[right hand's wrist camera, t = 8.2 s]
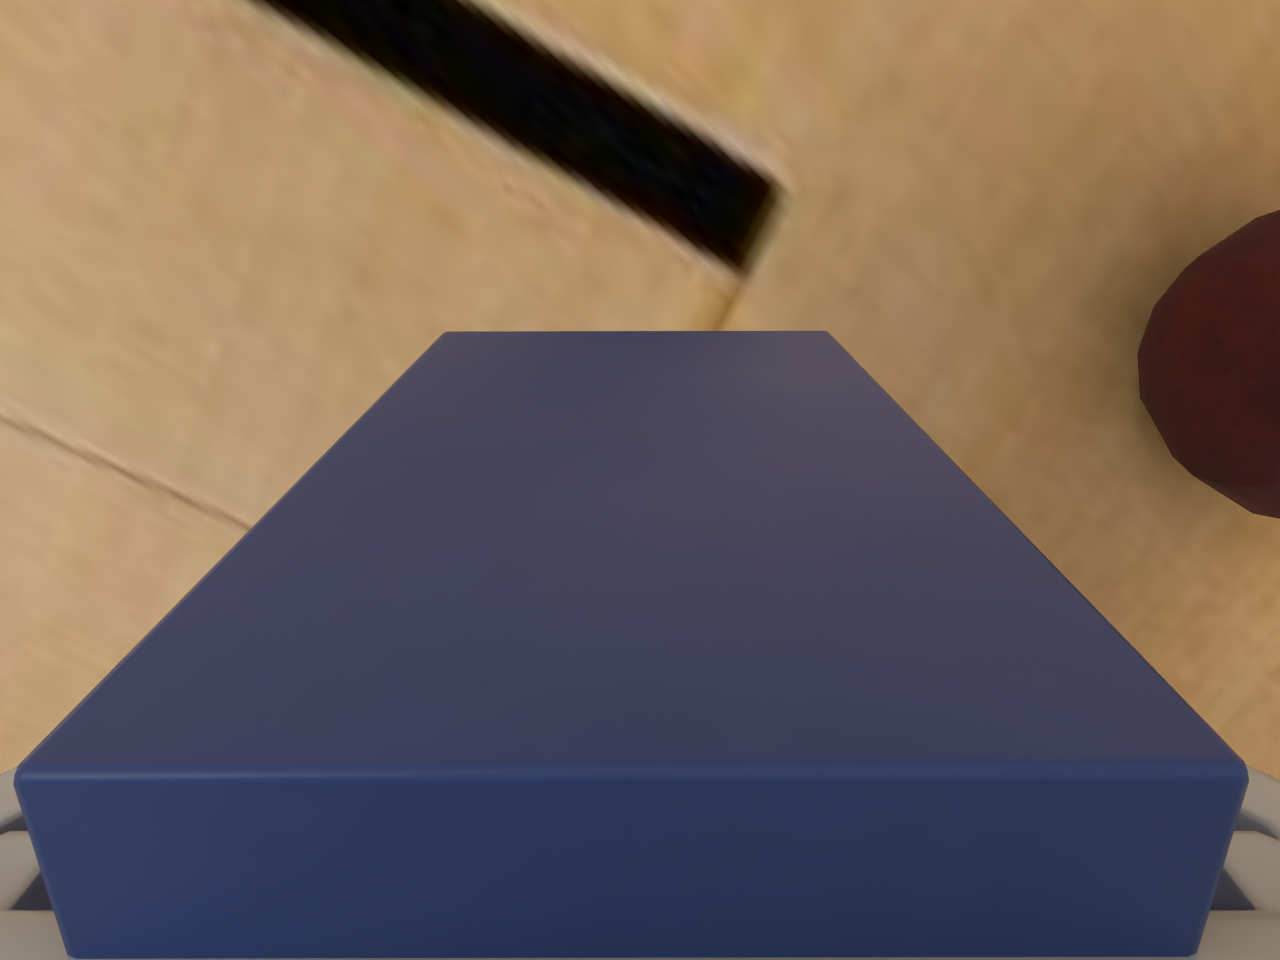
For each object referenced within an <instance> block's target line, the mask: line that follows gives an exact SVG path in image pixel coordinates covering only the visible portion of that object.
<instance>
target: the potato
mask: <svg viewBox="0 0 1280 960" xmlns="http://www.w3.org/2000/svg"><path fill="white" fill-rule="evenodd" d="M1138 369H1139V386H1140V398H1141V400H1142V402H1143V403H1144V405H1145V407H1146V409H1147V410H1148V412H1149V414H1150V416H1151V417H1152V419H1153V421H1154V423H1155V425H1156V427H1157V428H1158V430H1159V432H1160V434H1161V436H1162V438H1163V439H1164V441H1165V443H1166V445H1167V447H1168V449H1169V450H1170V452H1171V454H1172V456H1173V457H1174V458H1175V459H1176V460H1177V461H1178V462H1179V463H1180V464H1181V465H1182V466H1184V467H1185V468H1186V469H1187V470H1188V471H1189V472H1190V473H1191V474H1192V475H1193V476H1195V477H1196V478H1198V479H1199V480H1201V481H1202V482H1204V483H1206V484H1207V485H1209V486H1210V487H1212V488H1214V489H1215V490H1217V491H1218V492H1220V493H1221V494H1223V495H1225V496H1226V497H1228V498H1229V499H1231V500H1233V501H1234V502H1236V503H1237V504H1239V505H1240V506H1242V507H1244V508H1245V509H1247V510H1248V511H1250V512H1252V513H1254V514H1259V515H1264V516H1270V517H1275V518H1280V210H1278V211H1275V212H1272V213H1269V214H1266V215H1263V216H1260V217H1257V218H1255V219H1254V220H1252V221H1251V222H1249V223H1248V224H1246V225H1245V226H1244V227H1242V228H1241V229H1239V230H1238V231H1236V232H1235V233H1233V234H1232V235H1230V236H1229V237H1227V238H1226V239H1224V240H1223V241H1221V242H1220V243H1218V244H1217V245H1215V246H1214V247H1212V248H1211V249H1209V250H1208V251H1206V252H1205V253H1203V254H1202V255H1200V256H1199V257H1198V258H1196V259H1195V260H1194V261H1193V262H1192V263H1191V264H1189V265H1188V266H1187V267H1186V268H1185V269H1184V270H1183V271H1182V273H1181V274H1180V275H1179V276H1178V278H1177V279H1176V280H1175V281H1174V282H1173V284H1172V285H1171V286H1170V287H1169V289H1168V290H1167V291H1166V292H1165V294H1164V295H1163V296H1162V297H1161V298H1160V300H1159V301H1158V302H1157V303H1156V305H1155V306H1154V308H1153V311H1152V314H1151V316H1150V319H1149V322H1148V325H1147V327H1146V330H1145V333H1144V336H1143V338H1142V341H1141V344H1140V347H1139V351H1138Z"/></svg>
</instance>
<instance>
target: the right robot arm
mask: <svg viewBox="0 0 1280 960" xmlns="http://www.w3.org/2000/svg"><path fill="white" fill-rule="evenodd" d="M1245 765H1246V764H1245ZM1246 768H1247V770H1248V776H1249V783H1248V787H1247V790H1246V793H1245V796H1244V800H1243V803H1242V806H1241V810H1240V813H1239V816H1238V819H1237V823H1236V826H1235V829H1234V833H1233V836H1232V839H1231V842H1230V846H1229V849H1228V852H1227V856H1226V859H1225V862H1224V865H1223V869H1222V872H1221V875H1220V879H1219V882H1218V885H1217V888H1216V892H1215V895H1214V898H1213V901H1212V905H1211V908H1210V911H1209V915H1208V918H1207V921H1206V924H1205V928H1204V931H1203V934H1202V938H1201V941H1200V944H1199V947H1198V951H1197V953H1196V954H1194V955H1191V956H1189V957H782V958H219V959H76V958H73V957H71V956H68V955H67V952H66V949H65V946H64V943H63V940H62V936H61V933H60V930H59V927H58V924H57V921H56V918H55V914H54V911H53V908H52V905H51V902H50V899H49V896H48V892H47V889H46V886H45V883H44V880H43V877H42V874H41V870H40V867H39V864H38V861H37V858H36V855H35V852H34V848H33V845H32V842H31V839H30V836H29V833H28V830H27V826H26V823H25V820H24V817H23V814H22V811H21V808H20V804H19V801H18V798H17V795H16V792H15V789H14V786H13V782H14V774H15V772H16V770H17V767H16V768H13V769H11V770H9V771H7V772H5V773H3V774H1V775H0V960H1280V780H1278V779H1276V778H1273V777H1271V776H1269V775H1267V774H1265V773H1263V772H1261V771H1259V770H1257V769H1255V768H1253V767H1251V766H1248V765H1246Z"/></svg>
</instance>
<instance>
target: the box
mask: <svg viewBox="0 0 1280 960" xmlns="http://www.w3.org/2000/svg"><path fill="white" fill-rule="evenodd" d="M1248 783H1249V776H1248V770H1247V768H1246V765H1245V763H1244V761H1243V760H1242V759H1241V758H1240V757H1239V756H1238V755H1237V754H1236V753H1235V752H1234V751H1233V750H1232V749H1231V748H1230V747H1229V746H1228V745H1227V744H1226V743H1225V742H1224V741H1223V740H1222V739H1221V737H1220V736H1219V735H1218V734H1217V733H1216V732H1215V731H1214V730H1213V729H1212V728H1211V727H1210V726H1209V725H1208V724H1207V723H1206V722H1205V721H1204V720H1203V719H1202V718H1201V717H1200V716H1199V715H1198V714H1197V713H1196V712H1195V711H1194V710H1193V709H1192V708H1191V706H1190V705H1189V704H1188V703H1187V702H1186V701H1185V700H1184V699H1183V698H1182V697H1181V696H1180V695H1179V694H1178V693H1177V692H1176V691H1175V690H1174V689H1173V688H1172V687H1171V686H1170V685H1169V684H1168V683H1167V682H1166V681H1165V680H1164V679H1163V678H1162V677H1161V675H1160V674H1159V673H1158V672H1157V671H1156V670H1155V669H1154V668H1153V667H1152V666H1151V665H1150V664H1149V663H1148V662H1147V661H1146V660H1145V659H1144V658H1143V657H1142V656H1141V655H1140V654H1139V653H1138V652H1137V651H1136V650H1135V649H1134V648H1133V647H1132V646H1131V645H1130V643H1129V642H1128V641H1127V640H1126V639H1125V638H1124V637H1123V636H1122V635H1121V634H1120V633H1119V632H1118V631H1117V630H1116V629H1115V628H1114V627H1113V626H1112V625H1111V624H1110V623H1109V622H1108V621H1107V620H1106V619H1105V618H1104V617H1103V616H1102V615H1101V614H1100V612H1099V611H1098V610H1097V609H1096V608H1095V607H1094V606H1093V605H1092V604H1091V603H1090V602H1089V601H1088V600H1087V599H1086V598H1085V597H1084V596H1083V595H1082V594H1081V593H1080V592H1079V591H1078V590H1077V589H1076V588H1075V587H1074V586H1073V585H1072V584H1071V583H1070V581H1069V580H1068V579H1067V578H1066V577H1065V576H1064V575H1063V574H1062V573H1061V572H1060V571H1059V570H1058V569H1057V568H1056V567H1055V566H1054V565H1053V564H1052V563H1051V562H1050V561H1049V560H1048V559H1047V558H1046V557H1045V556H1044V555H1043V554H1042V553H1041V552H1040V551H1039V549H1038V548H1037V547H1036V546H1035V545H1034V544H1033V543H1032V542H1031V541H1030V540H1029V539H1028V538H1027V537H1026V536H1025V535H1024V534H1023V533H1022V532H1021V531H1020V530H1019V529H1018V528H1017V527H1016V526H1015V525H1014V524H1013V523H1012V522H1011V521H1010V520H1009V518H1008V517H1007V516H1006V515H1005V514H1004V513H1003V512H1002V511H1001V510H1000V509H999V508H998V507H997V506H996V505H995V504H994V503H993V502H992V501H991V500H990V499H989V498H988V497H987V496H986V495H985V494H984V493H983V492H982V491H981V490H980V489H979V488H978V486H977V485H976V484H975V483H974V482H973V481H972V480H971V479H970V478H969V477H968V476H967V475H966V474H965V473H964V472H963V471H962V470H961V469H960V468H959V467H958V466H957V465H956V464H955V463H954V462H953V461H952V460H951V459H950V458H949V457H948V455H947V454H946V453H945V452H944V451H943V450H942V449H941V448H940V447H939V446H938V445H937V444H936V443H935V442H934V441H933V440H932V439H931V438H930V437H929V436H928V435H927V434H926V433H925V432H924V431H923V430H922V429H921V428H920V427H919V426H918V424H917V423H916V422H915V421H914V420H913V419H912V418H911V417H910V416H909V415H908V414H907V413H906V412H905V411H904V410H903V409H902V408H901V407H900V406H899V405H898V404H897V403H896V402H895V401H894V400H893V399H892V398H891V397H890V396H889V395H888V394H887V392H886V391H885V390H884V389H883V388H882V387H881V386H880V385H879V384H878V383H877V382H876V381H875V380H874V379H873V378H872V377H871V376H870V375H869V374H868V373H867V372H866V371H865V370H864V369H863V368H862V367H861V366H860V365H859V364H858V363H857V361H856V360H855V359H854V358H853V357H852V356H851V355H850V354H849V353H848V352H847V351H846V350H845V349H844V348H843V347H842V346H841V345H840V344H839V343H838V342H837V341H836V340H835V339H834V338H833V337H832V336H831V335H830V334H829V333H828V332H826V331H568V332H445V333H443V334H442V335H441V336H440V337H439V338H438V339H437V340H436V341H435V342H434V343H433V344H432V345H431V346H430V347H429V348H428V349H427V350H426V351H425V352H424V353H423V354H422V355H421V356H420V357H419V358H418V359H417V360H416V361H415V362H414V364H413V365H412V366H411V367H410V368H409V369H408V370H407V371H406V372H405V373H404V374H403V375H402V376H401V377H400V378H399V379H398V380H397V381H396V382H395V383H394V384H393V385H392V386H391V387H390V388H389V389H388V390H387V391H386V392H385V393H384V394H383V395H382V396H381V397H380V398H379V399H378V400H377V401H376V402H375V403H374V404H373V405H372V406H371V407H370V408H369V409H368V410H367V411H366V412H365V413H364V414H363V415H362V416H361V417H360V418H359V419H358V420H357V421H356V422H355V424H354V425H353V426H352V427H351V428H350V429H349V430H348V431H347V432H346V433H345V434H344V435H343V436H342V437H341V438H340V439H339V440H338V441H337V442H336V443H335V444H334V445H333V446H332V447H331V448H330V449H329V450H328V451H327V452H326V453H325V454H324V455H323V456H322V457H321V458H320V459H319V460H318V461H317V462H316V463H315V464H314V465H313V466H312V467H311V468H310V469H309V470H308V471H307V472H306V473H305V474H304V475H303V476H302V477H301V478H300V479H299V480H298V481H297V482H296V484H295V485H294V486H293V487H292V488H291V489H290V490H289V491H288V492H287V493H286V494H285V495H284V496H283V497H282V498H281V499H280V500H279V501H278V502H277V503H276V504H275V505H274V506H273V507H272V508H271V509H270V510H269V511H268V512H267V513H266V514H265V515H264V516H263V517H262V518H261V519H260V520H259V521H258V522H257V523H256V524H255V525H254V526H253V527H252V528H251V529H250V530H249V531H248V532H247V533H246V534H245V535H244V536H243V537H242V538H241V539H240V540H239V541H238V542H237V543H236V545H235V546H234V547H233V548H232V549H231V550H230V551H229V552H228V553H227V554H226V555H225V556H224V557H223V558H222V559H221V560H220V561H219V562H218V563H217V564H216V565H215V566H214V567H213V568H212V569H211V570H210V571H209V572H208V573H207V574H206V575H205V576H204V577H203V578H202V579H201V580H200V581H199V582H198V583H197V584H196V585H195V586H194V587H193V588H192V589H191V590H190V591H189V592H188V593H187V594H186V595H185V596H184V597H183V598H182V599H181V600H180V601H179V602H178V603H177V605H176V606H175V607H174V608H173V609H172V610H171V611H170V612H169V613H168V614H167V615H166V616H165V617H164V618H163V619H162V620H161V621H160V622H159V623H158V624H157V625H156V626H155V627H154V628H153V629H152V630H151V631H150V632H149V633H148V634H147V635H146V636H145V637H144V638H143V639H142V640H141V641H140V642H139V643H138V644H137V645H136V646H135V647H134V648H133V649H132V650H131V651H130V652H129V653H128V654H127V655H126V656H125V657H124V658H123V659H122V660H121V661H120V662H119V663H118V665H117V666H116V667H115V668H114V669H113V670H112V671H111V672H110V673H109V674H108V675H107V676H106V677H105V678H104V679H103V680H102V681H101V682H100V683H99V684H98V685H97V686H96V687H95V688H94V689H93V690H92V691H91V692H90V693H89V694H88V695H87V696H86V697H85V698H84V699H83V700H82V701H81V702H80V703H79V704H78V705H77V706H76V707H75V708H74V709H73V710H72V711H71V712H70V713H69V714H68V715H67V716H66V717H65V718H64V719H63V720H62V721H61V722H60V723H59V725H58V726H57V727H56V728H55V729H54V730H53V731H52V732H51V733H50V734H49V735H48V736H47V737H46V738H45V739H44V740H43V741H42V742H41V743H40V744H39V745H38V746H37V747H36V748H35V749H34V750H33V751H32V752H31V753H30V754H29V755H28V756H27V757H26V758H25V759H24V760H23V761H22V762H21V763H20V764H19V765H18V767H17V770H16V772H15V774H14V782H13V786H14V789H15V792H16V795H17V798H18V801H19V804H20V808H21V811H22V814H23V817H24V820H25V823H26V826H27V830H28V833H29V836H30V839H31V842H32V845H33V848H34V852H35V855H36V858H37V861H38V864H39V867H40V870H41V874H42V877H43V880H44V883H45V886H46V889H47V892H48V896H49V899H50V902H51V905H52V908H53V911H54V914H55V918H56V921H57V924H58V927H59V930H60V933H61V936H62V940H63V943H64V946H65V949H66V952H67V955H68V956H71V957H73V958H76V959H219V958H782V957H1189V956H1191V955H1194V954H1196V953H1197V951H1198V947H1199V944H1200V941H1201V938H1202V934H1203V931H1204V928H1205V924H1206V921H1207V918H1208V915H1209V911H1210V908H1211V905H1212V901H1213V898H1214V895H1215V892H1216V888H1217V885H1218V882H1219V879H1220V875H1221V872H1222V869H1223V865H1224V862H1225V859H1226V856H1227V852H1228V849H1229V846H1230V842H1231V839H1232V836H1233V833H1234V829H1235V826H1236V823H1237V819H1238V816H1239V813H1240V810H1241V806H1242V803H1243V800H1244V796H1245V793H1246V790H1247V787H1248Z"/></svg>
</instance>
